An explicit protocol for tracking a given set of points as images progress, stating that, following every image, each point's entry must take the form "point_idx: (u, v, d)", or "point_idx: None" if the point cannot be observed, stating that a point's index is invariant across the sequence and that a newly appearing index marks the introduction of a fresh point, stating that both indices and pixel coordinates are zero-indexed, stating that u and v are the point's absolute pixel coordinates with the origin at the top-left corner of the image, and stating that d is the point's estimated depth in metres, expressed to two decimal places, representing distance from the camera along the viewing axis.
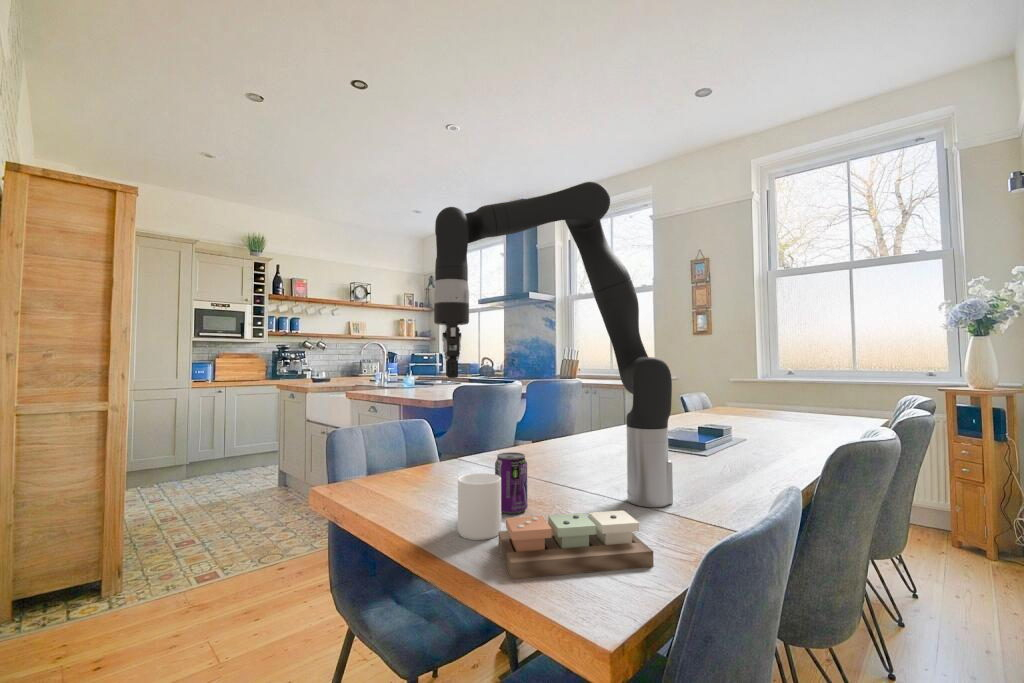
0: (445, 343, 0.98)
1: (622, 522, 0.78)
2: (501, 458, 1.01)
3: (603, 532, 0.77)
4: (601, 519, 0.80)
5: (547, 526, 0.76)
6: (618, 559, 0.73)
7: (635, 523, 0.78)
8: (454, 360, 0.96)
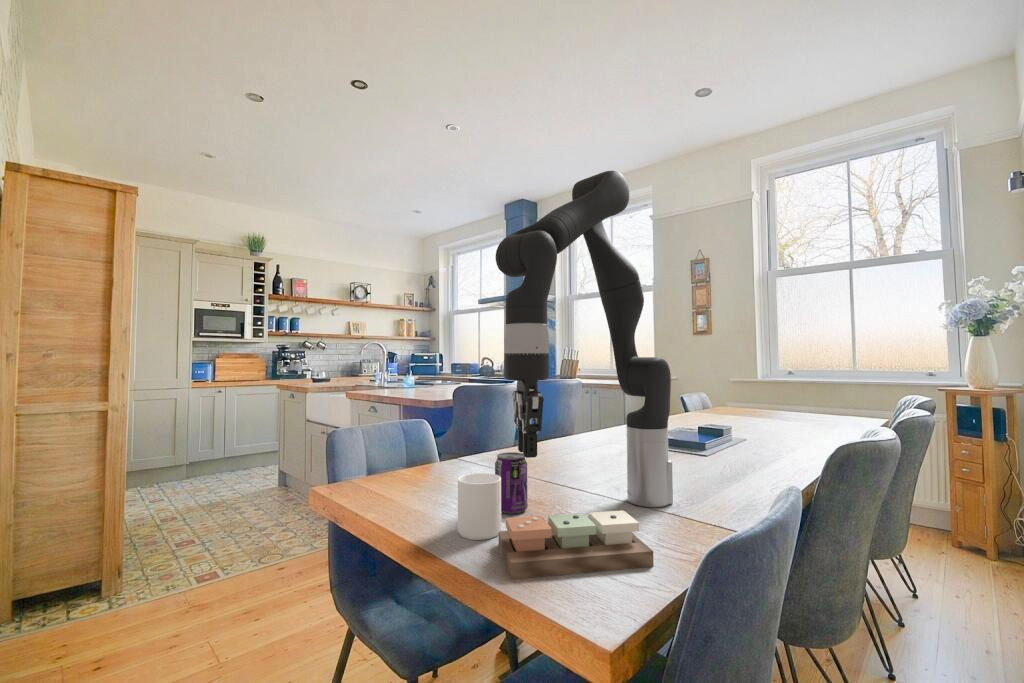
0: (521, 411, 0.76)
1: (622, 522, 0.78)
2: (501, 458, 1.01)
3: (603, 532, 0.77)
4: (601, 519, 0.80)
5: (547, 526, 0.76)
6: (618, 559, 0.73)
7: (635, 523, 0.78)
8: (533, 435, 0.75)
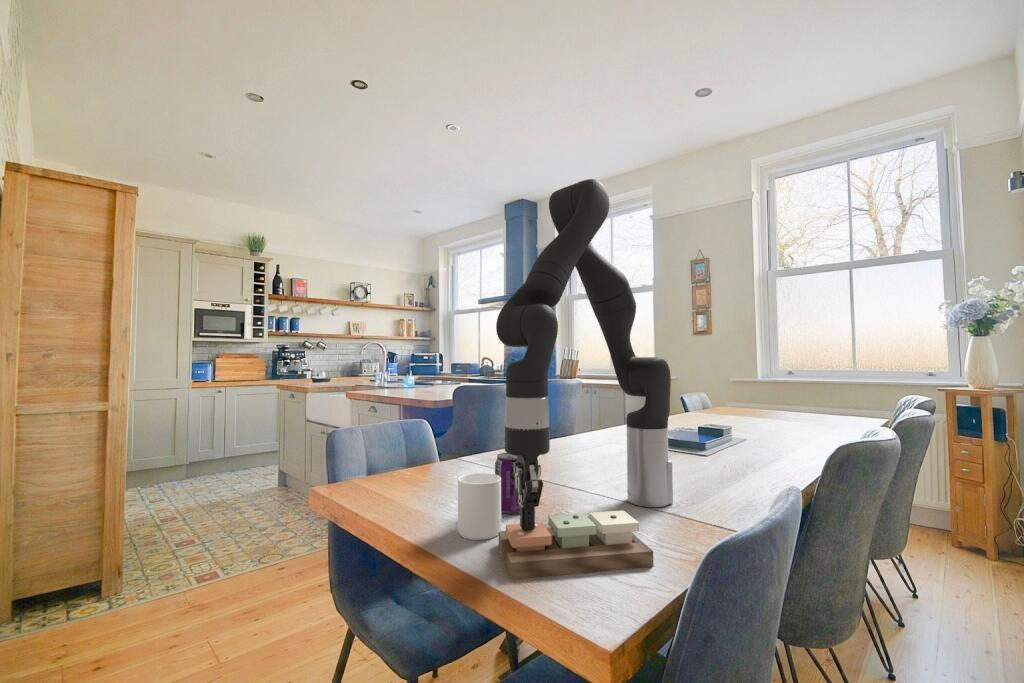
0: (520, 487, 0.76)
1: (622, 522, 0.78)
2: (501, 458, 1.01)
3: (603, 532, 0.77)
4: (601, 519, 0.80)
5: (547, 533, 0.76)
6: (618, 559, 0.73)
7: (635, 523, 0.78)
8: (531, 509, 0.76)
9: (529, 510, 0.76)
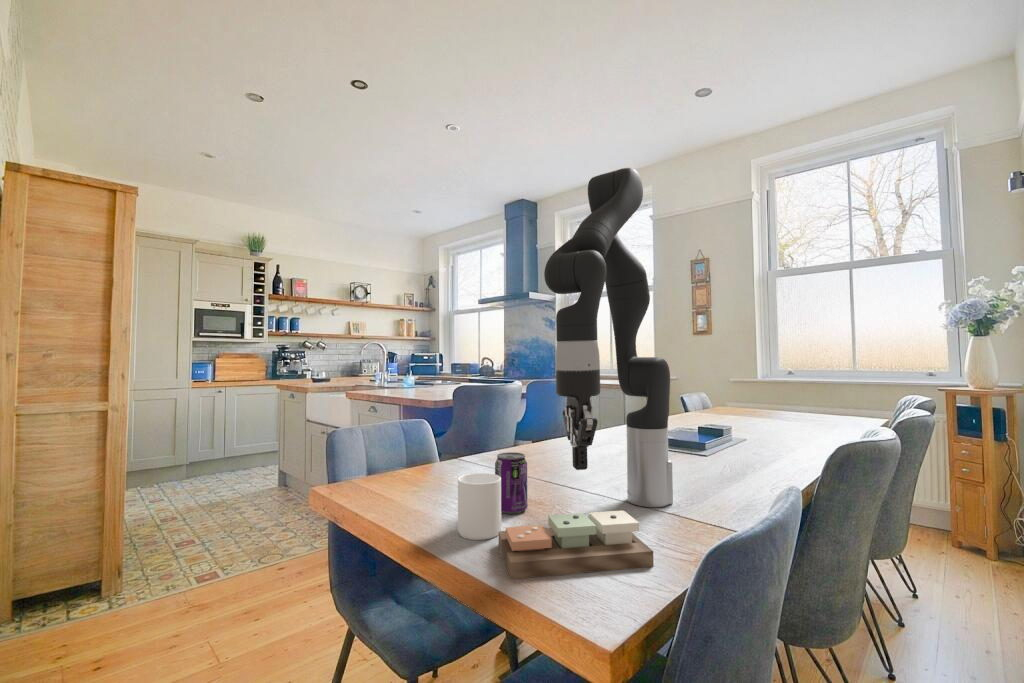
0: (573, 427, 0.79)
1: (622, 522, 0.78)
2: (501, 458, 1.01)
3: (603, 532, 0.77)
4: (601, 519, 0.80)
5: (547, 536, 0.76)
6: (618, 559, 0.73)
7: (635, 523, 0.78)
8: (584, 449, 0.79)
9: (582, 450, 0.79)
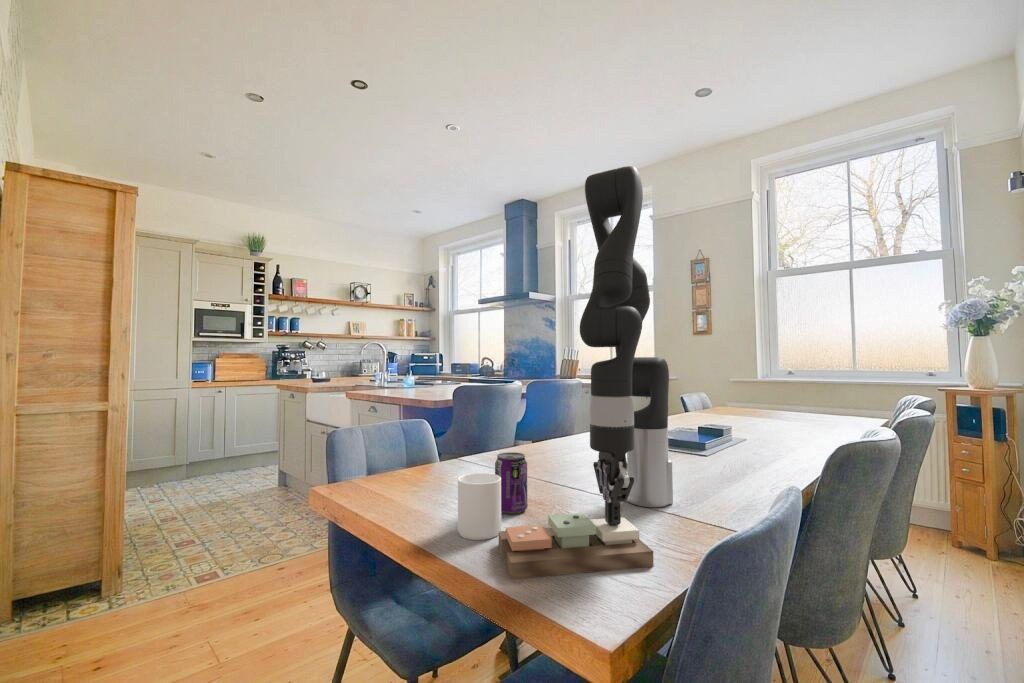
0: (608, 483, 0.79)
1: (622, 529, 0.78)
2: (501, 458, 1.01)
3: (603, 540, 0.77)
4: (601, 526, 0.80)
5: (547, 536, 0.76)
6: (618, 559, 0.73)
7: (635, 530, 0.78)
8: (617, 504, 0.79)
9: (616, 505, 0.79)
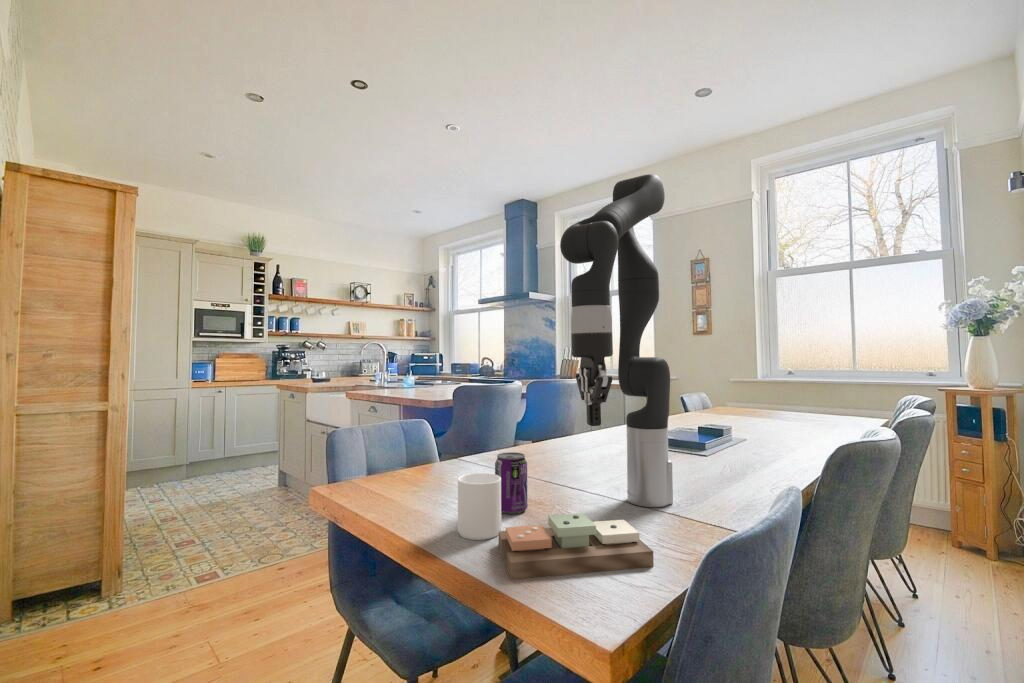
0: (588, 386, 0.85)
1: (622, 531, 0.78)
2: (501, 458, 1.01)
3: (603, 542, 0.77)
4: (601, 528, 0.80)
5: (547, 536, 0.76)
6: (618, 559, 0.73)
7: (635, 533, 0.78)
8: (598, 406, 0.85)
9: (596, 407, 0.85)
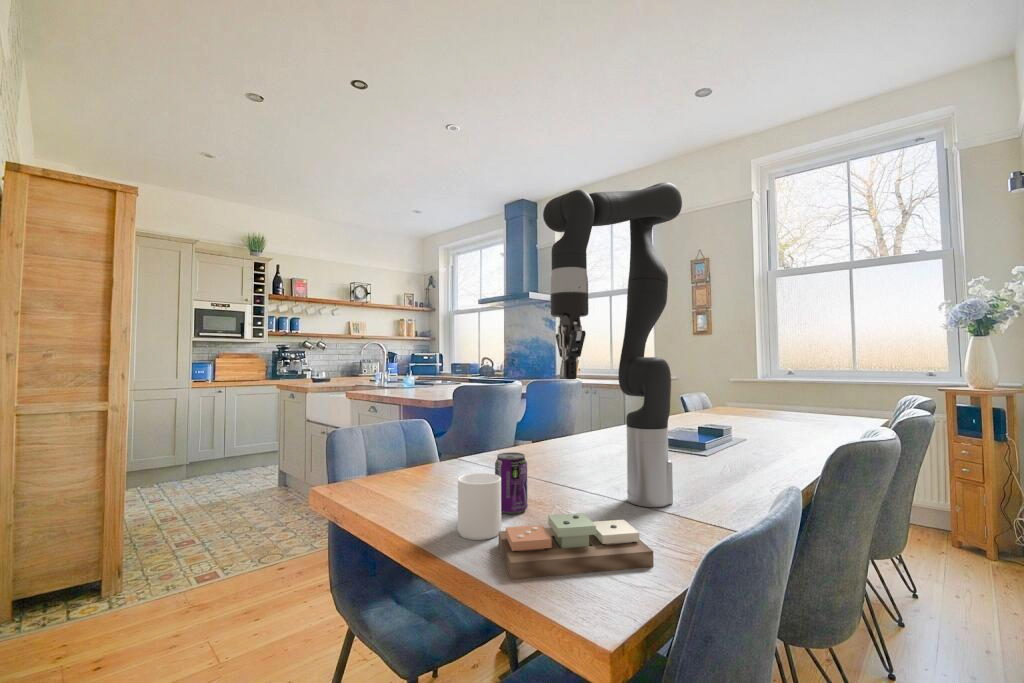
0: (565, 342, 0.92)
1: (622, 531, 0.78)
2: (501, 458, 1.01)
3: (603, 542, 0.77)
4: (601, 528, 0.80)
5: (547, 536, 0.76)
6: (618, 559, 0.73)
7: (635, 533, 0.78)
8: (573, 361, 0.92)
9: (572, 361, 0.92)
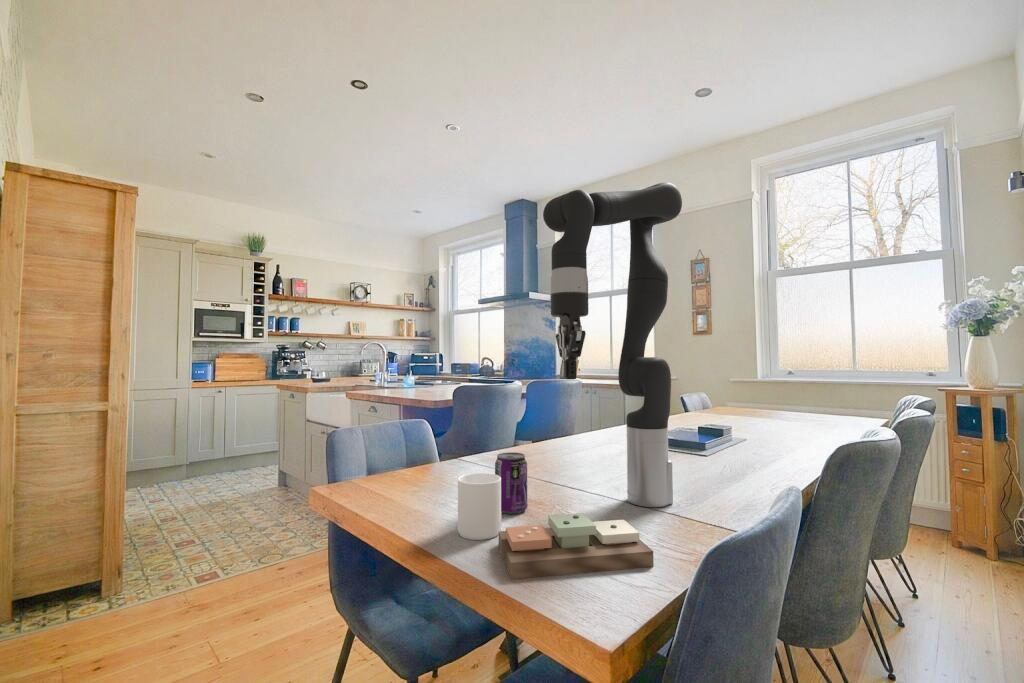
0: (565, 342, 0.92)
1: (622, 531, 0.78)
2: (501, 458, 1.01)
3: (603, 542, 0.77)
4: (601, 528, 0.80)
5: (547, 536, 0.76)
6: (618, 559, 0.73)
7: (635, 533, 0.78)
8: (573, 361, 0.92)
9: (572, 361, 0.92)
